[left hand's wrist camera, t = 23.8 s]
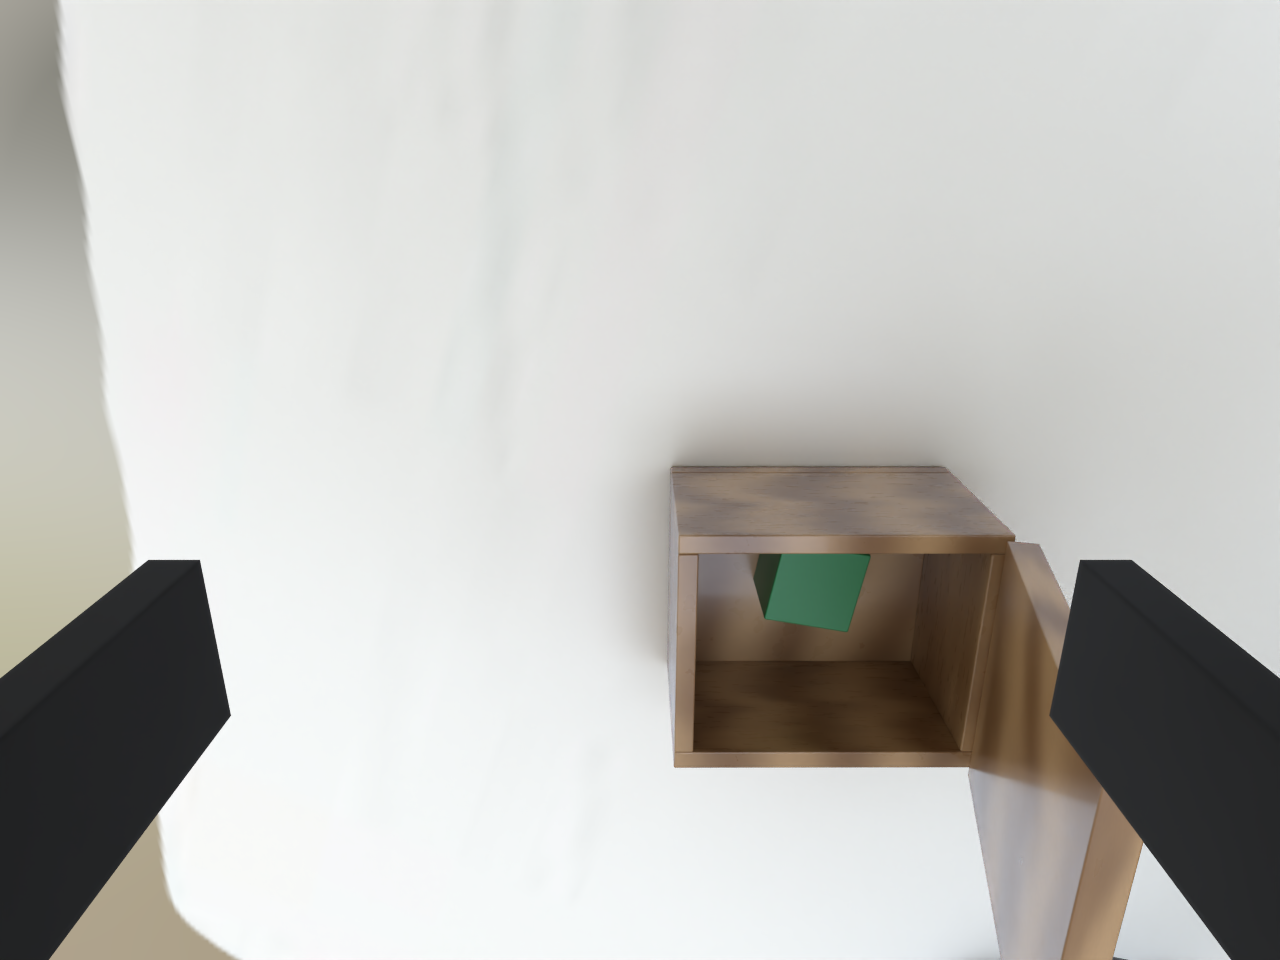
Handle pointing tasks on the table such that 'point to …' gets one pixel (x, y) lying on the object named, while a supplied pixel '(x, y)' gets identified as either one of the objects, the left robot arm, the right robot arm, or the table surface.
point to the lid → (1042, 789)
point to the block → (810, 588)
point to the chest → (822, 658)
